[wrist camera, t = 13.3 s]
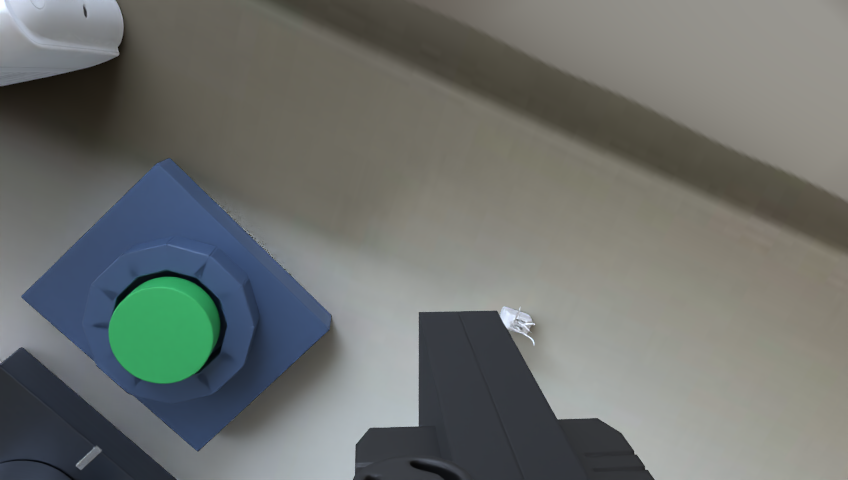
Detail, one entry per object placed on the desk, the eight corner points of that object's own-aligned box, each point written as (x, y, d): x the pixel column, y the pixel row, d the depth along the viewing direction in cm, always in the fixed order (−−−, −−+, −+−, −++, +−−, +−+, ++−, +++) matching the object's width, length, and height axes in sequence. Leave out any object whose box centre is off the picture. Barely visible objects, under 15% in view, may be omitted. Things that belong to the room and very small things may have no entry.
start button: (241, 324, 35) (234, 337, 33) (173, 387, 35) (163, 403, 33) (168, 256, 34) (158, 265, 32) (99, 322, 34) (85, 335, 33)
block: (332, 315, 39) (328, 342, 35) (206, 431, 40) (189, 471, 36) (169, 157, 36) (146, 167, 33) (40, 284, 37) (2, 309, 33)
